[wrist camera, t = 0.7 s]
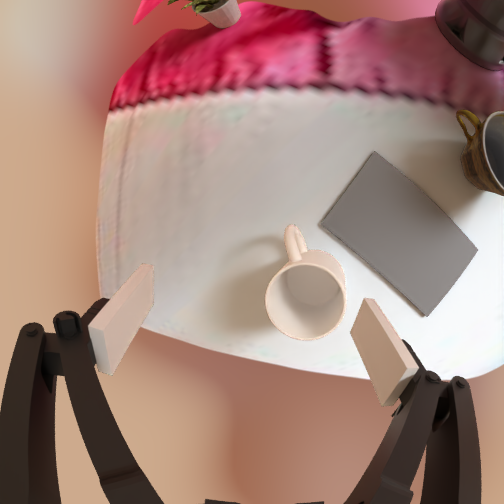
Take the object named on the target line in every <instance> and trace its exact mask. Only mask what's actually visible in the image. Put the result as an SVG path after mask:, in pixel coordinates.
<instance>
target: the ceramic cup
mask: <svg viewBox="0 0 504 504" xmlns="http://www.w3.org/2000/svg"><path fill="white" fill-rule="evenodd" d="M459 115H463V116H465V117H466V118H467V119H468V120H469V121H470V122H471V123H472V124H473V126H474V127H475V129H476V131H475V134H474V135H473V136H470V135H469V133H468V132H467V129H466V126H465V124H464V123H463V121H462V119H461V118H460V116H459ZM456 118H457V120H458V122H459V124H460V125H461V127H462V129H463V131H464V134H465V136H466V138H467V144H466V145H465V148H464V150H463V152H462V154H461V157H460V159H461V163H462V166H463V170H464V174H465V177H466V178H467V179H468V180H469V181H470V182H471V183H473V184H474V185H475V186H476V187H477V188H478V189H481V190H485V191H489V192H493V193H496V194H499V195H502V196H504V111H497V112H494V113H492V114H490V115H489V116H488V117H487V118H486V120H485V121H484V122H483V123H481V122H480V120H479V119H478V118H477V117H476V116H475V115H474V114H473V113H471V112H470V111H467V110H459V111H457V113H456Z"/></svg>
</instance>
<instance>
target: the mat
mask: <svg viewBox="0 0 504 504" xmlns="http://www.w3.org/2000/svg"><path fill="white" fill-rule="evenodd" d="M321 224H322V225H323V226H324V227H325V228H327V229H328V230H329V231H330V232H331V233H333V234H334V235H335V236H336V237H338V238H339V239H340V240H341V241H342V242H344V243H345V244H346V245H347V246H349V247H350V248H351V249H352V250H353V251H354V252H356V253H357V254H358V255H359V256H360V257H362V258H363V259H364V260H365V261H366V262H367V263H369V264H370V265H371V266H372V267H373V268H374V269H375V270H377V271H378V272H379V273H380V274H381V275H382V276H383V277H385V278H386V279H387V280H388V281H389V282H390V283H391V284H392V285H393V286H395V287H396V288H397V289H398V290H399V291H400V292H401V293H402V294H403V295H404V296H405V297H407V298H408V299H409V300H410V301H411V302H412V303H413V304H414V305H415V306H416V307H417V308H418V309H419V310H420V311H421V312H422V313H423V314H424V315H426V316H427V317H428V316H429V314H430V313H431V312H432V311H433V310H434V309H435V307H436V306H437V305H438V304H439V303H440V301H441V300H442V299H443V298H444V296H445V295H446V294H447V293H448V291H449V290H450V289H451V288H452V286H453V285H454V284H455V282H456V281H457V280H458V278H459V277H460V276H461V274H462V273H463V271H464V270H465V269H466V267H467V266H468V264H469V263H470V262H471V260H472V259H473V257H474V256H475V254H476V253H477V251H478V249H477V248H476V247H475V245H474V244H473V243H472V242H471V241H470V240H469V239H468V237H467V236H466V235H465V234H464V233H463V232H462V231H461V230H460V229H459V227H458V226H457V225H456V224H455V223H454V222H453V221H452V220H451V219H450V218H449V217H448V216H447V215H446V214H445V213H444V212H443V211H442V210H441V209H440V208H439V207H438V206H437V205H436V204H435V203H434V202H433V201H432V200H431V199H430V198H429V197H428V196H427V195H426V194H425V193H424V192H423V191H421V190H420V189H419V188H418V187H417V186H416V185H415V184H414V183H413V182H411V181H410V180H409V179H408V178H407V177H406V176H405V175H403V174H402V173H401V172H400V171H399V170H397V169H396V168H395V167H394V166H393V165H391V164H390V163H389V162H388V161H386V160H385V159H384V158H383V157H381V156H380V155H379V154H378V153H376V152H375V151H374V152H373V154H372V155H371V156H370V158H369V159H368V161H367V162H366V163H365V165H364V166H363V168H362V169H361V170H360V172H359V173H358V174H357V176H356V177H355V179H354V180H353V181H352V183H351V184H350V185H349V187H348V188H347V189H346V191H345V192H344V193H343V195H342V196H341V197H340V199H339V200H338V201H337V203H336V204H335V205H334V207H333V208H332V209H331V211H330V212H329V213H328V215H327V216H326V217H325V219H324V220H323V221H322V223H321Z"/></svg>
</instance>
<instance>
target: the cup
mask: <svg viewBox="0 0 504 504" xmlns="http://www.w3.org/2000/svg"><path fill="white" fill-rule="evenodd" d="M284 242H285V247H286V250H287V254H288V257H289V260H290V261H289V262H288V263H286V264H285V265H284V266H283V267H282V268H281V269H280V270H279V271H278V272H277V273H276V274H275V275H274V276H273V278H272V279H271V281H270V282H269V284H268V287H267V289H266V294H265V307H266V311H267V314H268V316H269V318H270V320H271V322H272V323H273V325H274V326H275V327H276V328H277V329H278V330H279V331H281V332H282V333H283V334H285V335H287V336H289V337H291V338H294V339H298V340H315V339H319V338H322V337H324V336H326V335H328V334H330V333H331V332H332V331H333V330H335V329H336V328H337V326H338V325H339V324H340V322H341V321H342V319H343V317H344V314H345V311H346V301H347V300H346V285H345V275H344V271H343V269H342V266H341V265H340V263H339V262H338V260H337V259H336V258H335V257H333V256H332V255H331V254H329V253H327V252H325V251H321V250H308V248H307V245H306V243H305V240H304V238H303V235H302V233H301V231H300V230H299V228H298V227H297V226H296V225H293V224H292V225H289V226H287V228H286V229H285V232H284Z"/></svg>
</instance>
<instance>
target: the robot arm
mask: <svg viewBox="0 0 504 504" xmlns="http://www.w3.org/2000/svg"><path fill="white" fill-rule="evenodd" d="M435 18H436V22H437V24H438V27H439V28H440V30H441V32H442V33H443V35H444V36H445V37H446V39H447V40H448V41H449V42H450V43H451V44H452V45H453V46H454V47H455V48H456V49H457V50H458V51H459V52H460V53H461V54H463V55H464V56H465V57H467V58H468V59H469V60H471V61H472V62H474V63H476V64H478V65H479V66H481V67H484V68H486V69H490V70H502V69H504V0H441V1H440V2H439V4H438V6H437V9H436V12H435ZM153 286H154V266H153V265H148V264H143V263H142V264H141V265H140V266H139V267H138V269H137V270H136V271H135V272H134V273H133V274H132V275H131V276H130V277H129V278H128V280H127V281H126V282H125V283H124V284H123V285H122V286H121V287H120V289H119V290H118V291H117V292H116V293H115V294H114V295H113V297H112V298H111V299H106V298H102V299H100V300H98V301H96V302H95V303H94V304H93V305H92V306H91V308H89V309H88V310H87V313H85V314H84V315H83V316H82V317H81V318H80V316H79V314H78V313H76V312H73V311H63V312H60V313H58V314H57V315H56V316H55V317H54V318H53V324H54V328H55V331H56V333H46V332H45V331H44V328H43V326H42V325H41V324H38V323H35V322H34V323H29V324H26V325H24V326H23V327H22V329H21V330H20V333H19V336H18V339H17V342H16V345H15V349H14V352H13V356H12V359H11V363H10V367H9V371H8V375H7V379H6V384H5V388H4V394H3V399H2V405H1V411H0V504H61V498H60V491H59V484H58V476H57V468H56V467H57V466H56V452H55V396H56V381H57V375H60V376H65V381H66V385H67V389H68V393H69V397H70V400H71V404H72V407H73V411H74V414H75V417H76V420H77V423H78V426H79V429H80V432H81V435H82V438H83V440H84V443H85V446H86V448H87V451H88V453H89V455H90V458H91V460H92V463H93V465H94V467H95V470H96V472H97V474H98V476H99V479H100V484H101V487H102V489H103V491H104V493H105V495H106V497H107V499H108V501H109V503H110V504H164V503H163V501H162V500H161V498H160V497H159V496H158V494H157V493H156V491H155V490H154V488H153V487H152V485H151V483H150V482H149V480H148V479H147V477H146V476H145V474H144V473H143V471H142V470H141V468H140V467H139V466H138V464H137V462H136V460H135V458H134V457H133V455H132V453H131V451H130V449H129V447H128V445H127V443H126V441H125V440H124V438H123V436H122V434H121V431H120V430H119V427H118V425H117V423H116V421H115V419H114V416H113V414H112V412H111V410H110V407H109V405H108V403H107V400H106V398H105V395H104V393H103V390H102V388H101V385H100V382H99V380H98V377H97V374H96V371H95V368H94V366H95V364H97V368H98V371H99V372H102V373H105V374H108V375H111V376H113V374H114V372H115V370H116V368H117V366H118V365H119V363H120V361H121V359H122V357H123V356H124V354H125V352H126V350H127V349H128V347H129V345H130V343H131V342H132V340H133V338H134V336H135V335H136V333H137V331H138V330H139V328H140V326H141V325H142V323H143V321H144V319H145V318H146V316H147V314H148V313H149V311H150V309H151V308H152V306H153V305H154V294H153ZM350 334H351V336H352V338H353V340H354V342H355V345H356V347H357V349H358V351H359V354H360V356H361V358H362V361H363V363H364V365H365V367H366V370H367V372H368V374H369V377H370V379H371V382H372V384H373V386H374V389H375V391H376V393H377V396H378V399H379V401H380V404H381V406H392V405H394V404H395V402H396V401H397V400H398V398H400V400H401V404H400V405H399V407H398V408H397V409H396V411H395V412H394V413H393V414H392V417H393V416H394V418H393V420H392V422H391V424H390V426H389V428H388V430H387V432H386V434H385V436H384V438H383V440H382V442H381V444H380V446H379V448H378V450H377V452H376V454H375V456H374V457H373V459H372V461H371V463H370V465H369V466H368V468H367V469H366V471H365V473H364V475H363V476H362V478H361V479H360V481H359V482H358V484H357V486H356V487H355V489H354V490H353V492H352V493H351V495H350V496H349V497H348V499H347V500H346V502H345V503H344V504H410V502H411V500H412V497H413V491H410V487H411V484H412V482H413V480H414V477H415V475H416V472H417V469H418V467H419V464H420V461H421V459H422V456H423V453H424V450H425V447H426V444H427V447H426V463H425V472H424V482H423V489H422V496H421V502H420V504H481V460H480V447H479V438H478V430H477V423H476V417H475V411H474V405H473V400H472V395H471V390H470V386H469V384H468V382H467V381H466V380H465V379H464V378H463V377H460V376H455V377H453V378H452V380H451V381H450V383H448V382H443V381H441V379H440V377H439V376H438V375H437V374H436V373H434V372H432V371H426V369H425V368H424V366H423V365H422V363H421V362H420V360H419V358H418V357H417V356H416V354H415V352H413V349H412V348H411V346H410V345H409V344H408V343H407V342H406V341H405V340H403V339H401V338H400V337H399V335H398V334H397V332H396V331H395V329H394V328H393V326H392V325H391V323H390V322H389V320H388V319H387V317H386V316H385V314H384V313H383V312H382V310H381V309H380V307H379V306H378V304H377V303H376V301H375V300H374V299H368V298H364V299H363V302H362V304H361V307H360V310H359V312H358V315H357V317H356V320H355V322H354V324H353V327H352V329H351V332H350ZM205 504H239V503H236V502H225V501H217V500H209V499H205ZM297 504H324V502H311V503H297Z"/></svg>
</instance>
